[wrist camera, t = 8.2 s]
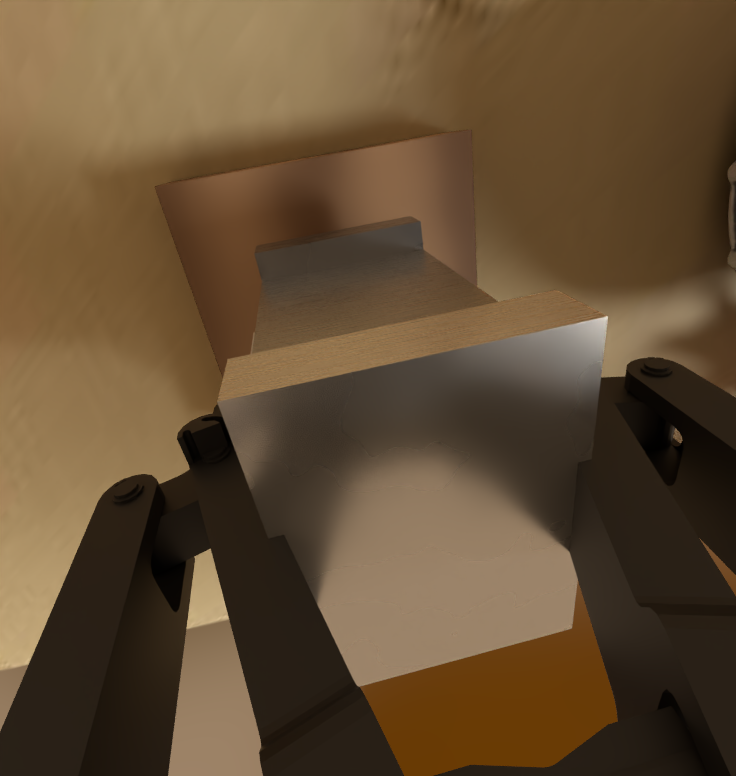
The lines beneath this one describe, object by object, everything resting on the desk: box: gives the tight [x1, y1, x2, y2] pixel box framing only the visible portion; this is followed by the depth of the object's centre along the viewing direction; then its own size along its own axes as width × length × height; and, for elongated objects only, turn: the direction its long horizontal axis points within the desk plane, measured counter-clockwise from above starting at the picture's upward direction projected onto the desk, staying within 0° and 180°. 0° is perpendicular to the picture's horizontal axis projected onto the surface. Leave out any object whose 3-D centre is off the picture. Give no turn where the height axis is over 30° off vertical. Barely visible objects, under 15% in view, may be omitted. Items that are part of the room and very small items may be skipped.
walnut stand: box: [155, 130, 477, 377], centre depth 23 cm, size 13×13×3 cm
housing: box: [217, 216, 608, 686], centre depth 14 cm, size 6×8×12 cm
